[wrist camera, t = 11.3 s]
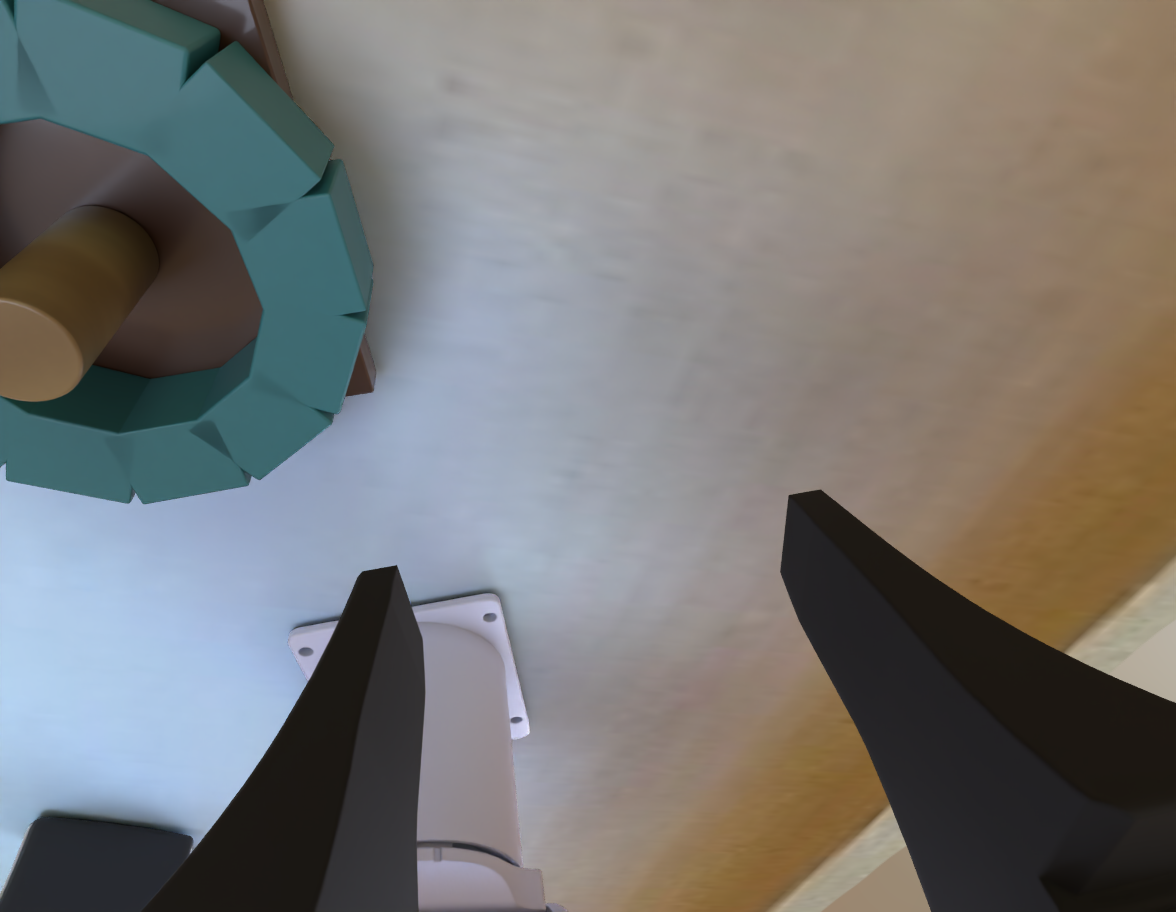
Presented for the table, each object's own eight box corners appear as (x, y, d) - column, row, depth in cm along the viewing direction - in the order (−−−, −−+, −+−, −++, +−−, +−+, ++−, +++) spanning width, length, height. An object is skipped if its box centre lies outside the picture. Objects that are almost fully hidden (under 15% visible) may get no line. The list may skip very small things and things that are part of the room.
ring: (414, 404, 21) (412, 457, 19) (16, 472, 21) (-30, 535, 19) (277, -65, 14) (251, -59, 12) (-330, 12, 14) (-463, 32, 12)
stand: (376, 371, 22) (360, 507, 17) (28, 427, 21) (-95, 585, 16) (255, -27, 16) (175, 6, 11) (-245, 30, 15) (-572, 93, 10)
